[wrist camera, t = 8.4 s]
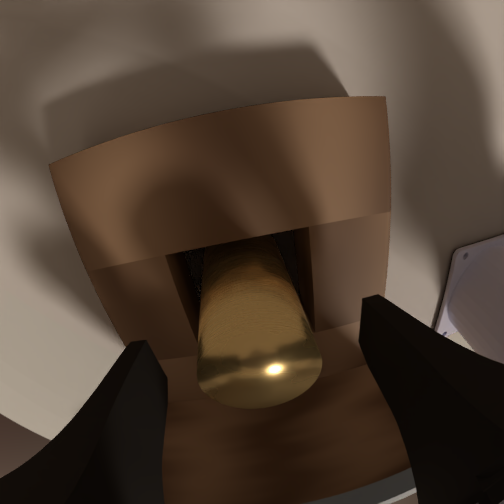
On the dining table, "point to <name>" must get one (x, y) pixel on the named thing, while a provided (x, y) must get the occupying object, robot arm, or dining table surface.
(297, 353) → the peg
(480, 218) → the dining table surface
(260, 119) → the socket block
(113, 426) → the robot arm
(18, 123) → the dining table surface
